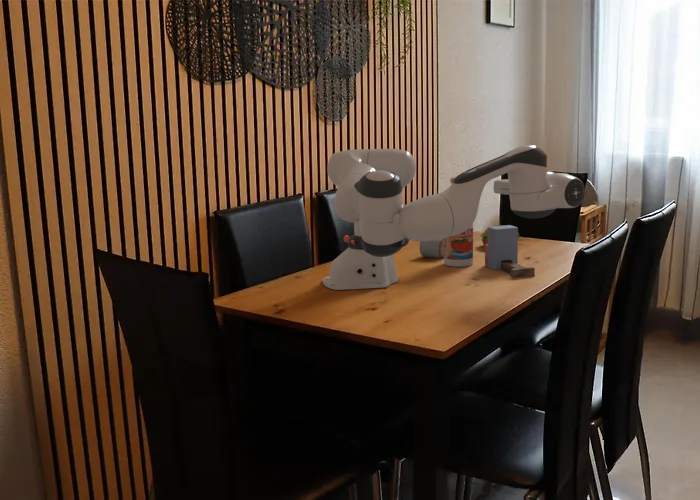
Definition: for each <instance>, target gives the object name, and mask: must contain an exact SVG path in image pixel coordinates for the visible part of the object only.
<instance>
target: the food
mask: <svg viewBox="0 0 700 500" xmlns="http://www.w3.org/2000/svg"><path fill="white" fill-rule="evenodd" d="M494 226H505V225H503V224H497V225H496V224H495V225H492V226H489V227H494ZM480 237H481V242H482V244H483V245H482V246H483V248H485V244H488V227H487V228H485V229H484V231H483V232H482V233H481V234H480ZM518 239H520V233H519V232H518Z"/></svg>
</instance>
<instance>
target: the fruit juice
mask: <svg viewBox="0 0 700 500" xmlns="http://www.w3.org/2000/svg"><path fill="white" fill-rule="evenodd" d="M454 179H455V177H451V178H450V181H449V182H450V184H451V185H452V184H453V182H454ZM451 185H450V186H451ZM443 262H444V265H445V266H448V267H453V268H464V267H469V266H472V265H473V262H474V223H473V224H472V225H471V227H470V228H469V229H468V230H467V231H465V232H463V233H461V234H458V235H455V236H452V237H448V238H444V258H443Z"/></svg>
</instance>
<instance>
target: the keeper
mask: <svg viewBox="0 0 700 500" xmlns="http://www.w3.org/2000/svg"><path fill="white" fill-rule="evenodd" d="M493 226H494V227H490V226H487V228H488V267H487V268H489V269H492V270H494V271H500V270H501V261H504V260H509V261H511V262H514V263H516V264H518V262H519V261H518V253H519V252H518V251H519V250H518V249H519V245H518V244H519V238H518V233H519V228H518V227H517V226H514V225H511V224H507V225H505V226H504V225H503V226H495V225H493ZM501 271H502V270H501Z"/></svg>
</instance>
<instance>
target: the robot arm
mask: <svg viewBox="0 0 700 500" xmlns="http://www.w3.org/2000/svg"><path fill="white" fill-rule="evenodd" d="M547 164H548V155H547V154H546V152H544V150H542V148H540V147H539V146H538V145H536V144H534V145H533V144H526V145H524V144H523V145H520V146H517V147H516V148H513V149H512V150H509V151H507V152H506V153H505V154H503V155H500V156H497V157H495V158H492V159H490V160H488V161H486V162H483V163H481V164H479V165H476V166H474V167H471V168H470V169H467V170H464V171H463V172H461V173H459V174H458V175H456V176H455V177H454V178H455V179H454V182H453V184H452V185H450V186H449V187H447V188H446V189H445V190H443V191H442V192H439V193H435V194H430V195H427V196H424V197H421V198H418V199H415V200H413V201H411V202H408V203H407V204H404V203H403V202H404V201H403V194H402V193H403V189H405V187H406V186H408V185H409V184H410V183H411V182H412V180H413V179H414V177H415V175H416V172H417V171H416V170H417V165H416V160H415V158H414V156H413V154H412V153H410V152H409V151H408V150H403V149H398V148H371V149H367V148H366V149H363V148H361V149H347V150H343V151H338V152H334V153H333V154H332V155H331V156H330V158H329V160H328V162H327V171H326V172H327V175H328V178H329V179H330V181H331V183H332V184H333V185H334V186H338V187H337V189H336V191H335V195H334V201H333V203H334V204H333V206H334V207H333V208H334V211H335V212H336V214H337V216H338V217H339V218H340V219H341V220H343V221H345V222H347V223H353V226H354V227H353V229H354V234H353V235H351V236H350V235H348V234H346V235H344V237H343V241H344V242H345V243H346V244H347V243H348V247H347V248H346V249H345V250H344V251H342V253H340V254H339V255H338V256H337V257H336V258H335V259H333V260H332V261H331V264H330V270H329V276H325V277H323V278H322V284H323V285H324V286H325V287H326V288H327V289H331V290H334V291H342V290H360V289H361V290H363V289H379V288H381V289H383V288H388V287H389V286H391V285H393V284H395V283H397V282H398V281H399V276H398V274H397V269H396V264H395V259H394V254H397V253H398V252H399V251H400V250H402V248H404V247H406V246H407V245H408V244H409V243H410V241H412V242H420V241H431V240H438V239H443V238H448V237H452V236H455V235H458V234H461V233H463V232H465V231H467V230H468V229H469V228H470V227H471V225H472V224H473V225H474V222H475V220H476V218H477V215H478V212H479V208H480V206H479V205H480V202H481V198H482V194H483V191H484V188H485V187H486V185H487V183H488V182H490V181H492V180H493V179H496V178H499V177H501V176H503V175H505V174H507V178H508V179H507V178H505V179H496V180H494V181H493V193H495V194H499V195H506V196H507V195H508V196H509V201H510V210H511V211H512V213H513V214H515V215H517V216H518V217H521V218H524V219H535V220H536V219H541V218H545V217H548V216H550V215H551V214H552V213H554V212H555V211H556V209H573V208H577V207H579V206H580V205H581V204H582V202H583V200H584V199H585V194H586V192H585V191H586V190H585V184H584V183H583V181H582V180H581V179H580V178H578V177H577V176H574V175H571V174H569V173H562V172H561V173H560V172H553V171H547V168H548V167H547V166H548V165H547Z"/></svg>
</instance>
